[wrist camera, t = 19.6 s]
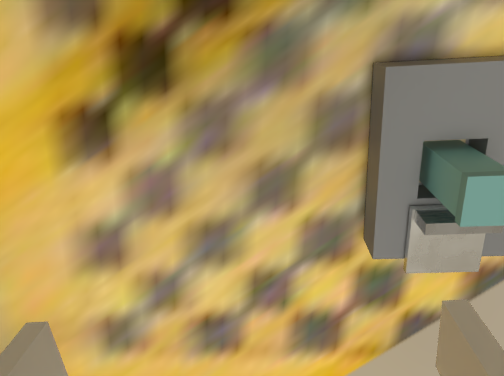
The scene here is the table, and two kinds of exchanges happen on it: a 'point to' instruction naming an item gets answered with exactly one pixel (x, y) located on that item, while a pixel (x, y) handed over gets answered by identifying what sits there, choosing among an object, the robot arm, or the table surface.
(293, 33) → the table surface
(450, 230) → the shutter
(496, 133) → the socket
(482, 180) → the plug
